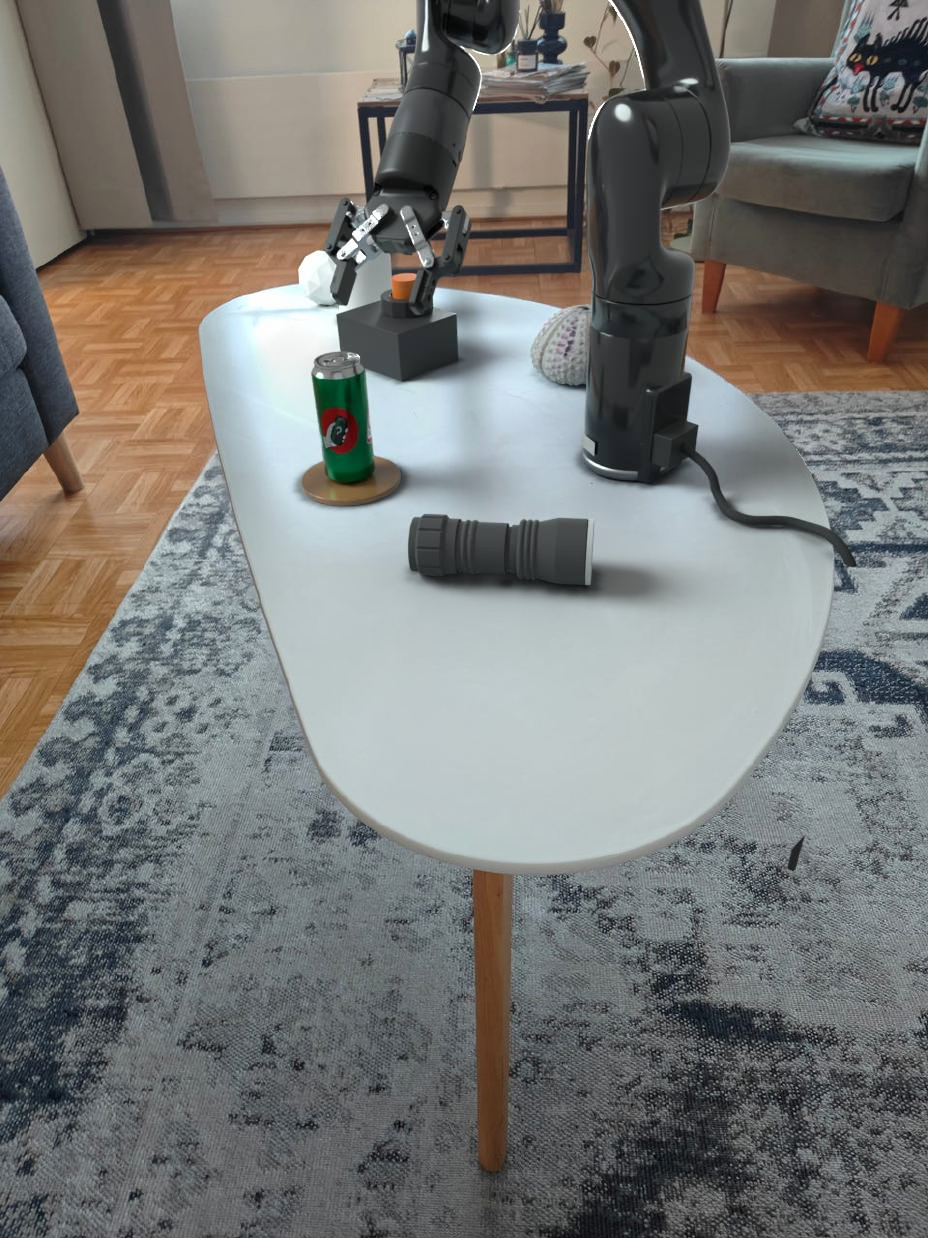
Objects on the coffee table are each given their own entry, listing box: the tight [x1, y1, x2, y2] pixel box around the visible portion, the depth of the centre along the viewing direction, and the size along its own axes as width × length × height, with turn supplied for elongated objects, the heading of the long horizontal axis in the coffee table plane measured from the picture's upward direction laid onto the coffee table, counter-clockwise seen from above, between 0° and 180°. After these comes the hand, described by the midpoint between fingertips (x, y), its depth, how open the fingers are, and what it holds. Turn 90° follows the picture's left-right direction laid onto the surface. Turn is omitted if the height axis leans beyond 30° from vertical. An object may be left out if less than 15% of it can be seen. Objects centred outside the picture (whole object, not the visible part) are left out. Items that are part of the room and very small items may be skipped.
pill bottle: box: [335, 220, 393, 313], centre depth 128 cm, size 8×8×15 cm
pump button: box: [391, 272, 417, 300], centre depth 114 cm, size 4×4×2 cm
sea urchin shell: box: [529, 303, 591, 386], centre depth 110 cm, size 13×14×8 cm
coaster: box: [300, 455, 402, 507], centre depth 91 cm, size 10×10×1 cm
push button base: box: [335, 289, 459, 383], centre depth 116 cm, size 12×10×8 cm
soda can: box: [310, 351, 375, 484], centre depth 87 cm, size 5×5×12 cm
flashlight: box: [407, 513, 595, 586], centre depth 75 cm, size 15×5×5 cm, turn 81°
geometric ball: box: [298, 249, 337, 306], centre depth 137 cm, size 8×8×8 cm
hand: (376, 306), depth 88 cm, fingers open, 8 cm apart
